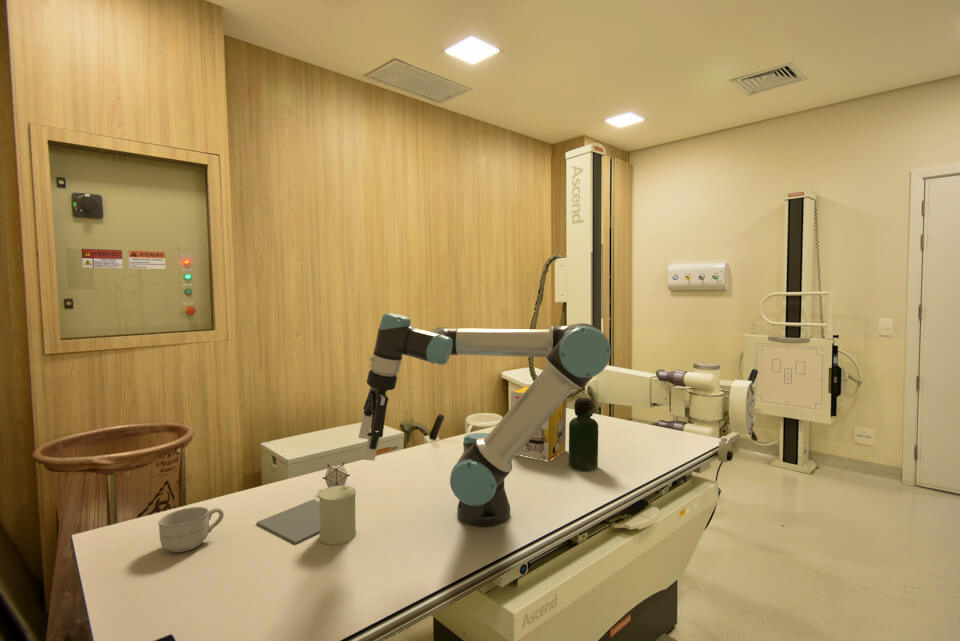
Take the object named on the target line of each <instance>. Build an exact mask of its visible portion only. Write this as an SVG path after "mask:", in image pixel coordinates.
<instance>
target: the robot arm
mask: <svg viewBox="0 0 960 641" xmlns="http://www.w3.org/2000/svg"><path fill="white" fill-rule="evenodd" d="M411 324H412V323H411V318H410V317H409V316H405V315H403V314H399V313H394V312H386V313H384V314H383V315H382V317H381V320H380V324H379V327H378V329H377V330H378V331H377V336H376V340H375V345H374V349H373V354H372V356H370V358H369V361H371V362H370V370H369V371H368V374H367V379H366V384H367V385H368V386H369V387H370V388H369V392H368V394H367V397H366V400H365V403H364V406H363V416H362V420H361V425H360V427H359V428H360V429H359V433H358V439H361V440H362V439H364V440H367V442H366V446H365V451H364V455H363V460H364V461H372V462H373V461H376V460H375V459H376V456H377V450H378V447H379V442H380V438H383V436H384V427H385V421H386V414H387V412H386V411H387V407H388V402H389V397H388V395H386V394H387V391H392V390H395V388H396V385H397V381H398V374H399V373H400V368H401V365H402V360H403V356H408V357H412V358H415V359H418V360H422V361H424V362H428V363H430V364H436V365H441V366H443V365H446V364H447V363H448V362H449V360H450V358H451V356H486V357H489V356H490V357H493V356H494V357H527V358H528V357H529V358H530V357H531V358H544V359H545V367H544V368H543V370H542V371H541V372H540V374H539V375H537V377H536V378H535V379H534V381H533V382H532V383H531V384H530V386H529V385H528V386H529V388H528V389H527V390H526V391H525V392H524V394H523V395H522V396H521V397H520V398H519V399H518V401H517V402H516V403H515V404H514V405H513V407H512V408H511V407H510V409H509V410H508V411H507V412H506V413H505V415H504V416H503V417H502V418H501V420H500V421H499V422H498V423H497V424H496V425H495V427H493V429H492V430H491V431H490V432H475V433H469V434H465V435H464V437H463V443H462V445H463V452H462V454H461V456H459V458H458V460H457V462H456V463H455V465H454V466H453V468H452V469H451V471H450V472H451V473H450V475H449V476H450V477H449V484H450V488H451V491H452V493H453V495H454V496H455V497H456V498H457V499H458V504H457V509H456V511H457V514H456V516H457V518H459V520H460V521H461V522H463V523H465V524H468V525H470V526H475V527H494V526H498V525H501V524H504V523H505V522H507V521H508V520H509V519H508V518H510V517H511V504H510V503H509V498H508V496H507V492H506V488H505V479H506V477H507V476H509V474H510V473H511V471H512V470H513V462H512V461H513V460H514V458H516V456H517V454H518V453H519V452H520V451H521V449H522V448H523V447H524V446H525V445H526V444H527V443H528V441H529V440H530V439H531V438H532V437H533V436H534V434H535V433H536V432H537V431H538V430H539V429H540V428H541V426H542V425H543V424H544V423H545V422H546V421H547V419H548V418H549V417H550V416H551V415H552V414H553V412H554V411H555V410H556V409H557V408H558V407H559V406H560V404H561V403H562V402H563V401H564V400H565V399H566V400H567V398H568V396H570V394H571V393H572V392H573V391H574V390H575V391H576V390H583V389H584V388H585V386H586V385H587V384H588V383H589V382H590V381H591V379H593V377H595V376H597V375H598V374H600V373H602V372H603V371H604V370H605V369H606V367H607V366H608V364H609V361H610V359H611V352H612V351H611V345H610V341H609V339H608V338H607V335H606V334H605V333H603V332H602V331H601V330H600V329H599V328H597V327H596V326H594V325H592V324H588V323H580V322H579V323H574V324H567V325H551V326H550V327H549V328H548V329H546V328H545V329H544V328H543V329H537V328H535V329H531V328H530V329H529V328H526V329H525V328H524V329H523V328H521V329H520V328H452V327H451V328H450V327H449V328H448V327H446V326H445V327H437V328H435V329H432V330H425V329H421V328H418V327H417V328H416V327H415V326H411ZM503 522H504V523H503Z"/></svg>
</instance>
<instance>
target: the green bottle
mask: <svg viewBox="0 0 960 641" xmlns="http://www.w3.org/2000/svg"><path fill="white" fill-rule="evenodd" d="M573 406H574V415H575V416H576V417H574V418H572V419H571V420H570V421H569V424H568V467H569V468H570V467H571V469H573V470H574V469H575V471H578V470H580V471H579V472H593V471H595V470H597V469H598V468H599V463H598V462H599V423H598V422H597V421H596V420H595V419H594V418H592V416H593V415H594V402H593V400H592V399H591V398H587V397H577V398H576V399H575V401H574V405H573ZM592 470H593V471H592Z"/></svg>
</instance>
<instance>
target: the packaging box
mask: <svg viewBox="0 0 960 641" xmlns="http://www.w3.org/2000/svg"><path fill="white" fill-rule="evenodd" d="M530 385H531V384H530ZM530 385H526V386H524V387H520V388H518V389H514V390H512V391H511V394H510V396H511V397H510V398H511V399H510V400H511V402H510V406H511V407H510V409H511V408H512V407H513V405H514V404H515V403H516V402H517V401H518V399H519V398H520V397H521V396H522V395H523V394H524V392H525V391H526V390H527V389H528V388H529V386H530ZM566 426H567V398H566V399H565V400H564V401H563V402H562V403H561V404H560V406H559V407H558V408H557V409H556V410H555V411H554V412H553V414H552V415H551V416H550V417H549V418H548V419H547V421H546V422H545V423H544V424H543V425H542V426H541V428H540V429H539V430H538V431H537V432H536V433H535V434H534V436H533V437H532V438H531V439H530V440H529V441H528V443H527V444H526V445H525V446H524V447H523V448H522V449H521V451H520V452H519V453H518V455H523V456H528V457H533V458H537V459H542V460H547V461H550V460H551V459H552V458H554V457H555V456H557V455H558V454H559V453H561V452H562V451H564V450H565V451H566V441H567V440H566V436H567V435H566V434H567V432H566V431H567V428H566ZM565 451H564V452H565ZM562 453H563V452H562ZM562 453H561V454H562ZM558 456H559V455H558ZM558 456H557V457H558ZM555 458H556V457H555ZM555 458H554V459H555ZM552 460H553V459H552ZM552 460H551V461H552ZM551 461H550V462H551Z"/></svg>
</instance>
